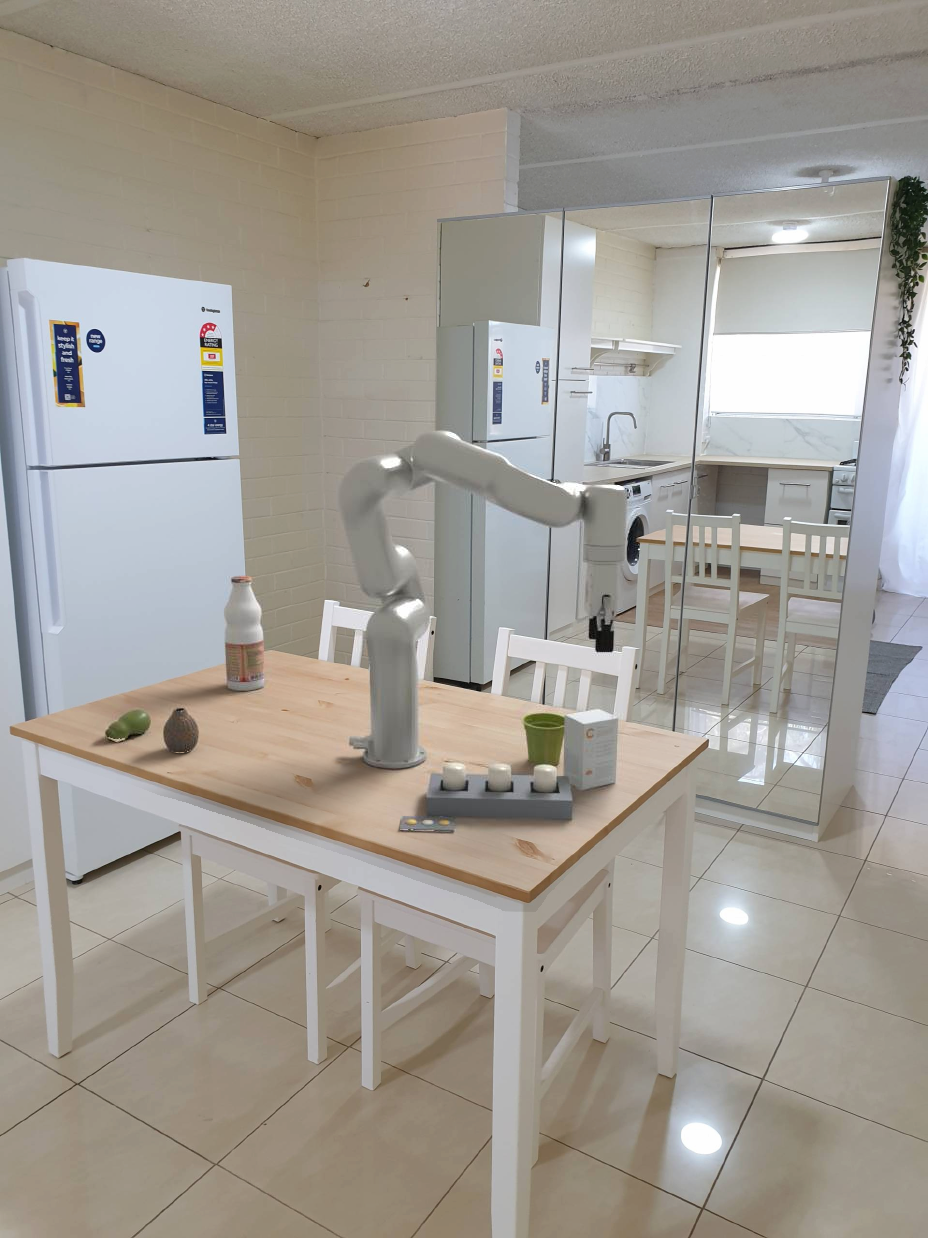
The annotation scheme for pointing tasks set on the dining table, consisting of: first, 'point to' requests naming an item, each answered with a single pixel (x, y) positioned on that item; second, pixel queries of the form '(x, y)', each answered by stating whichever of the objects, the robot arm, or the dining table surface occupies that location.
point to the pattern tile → (428, 823)
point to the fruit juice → (243, 638)
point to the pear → (129, 724)
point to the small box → (590, 748)
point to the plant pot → (544, 737)
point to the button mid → (499, 777)
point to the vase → (180, 731)
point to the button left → (454, 776)
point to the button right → (545, 778)
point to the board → (499, 799)
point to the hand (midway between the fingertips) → (600, 645)
